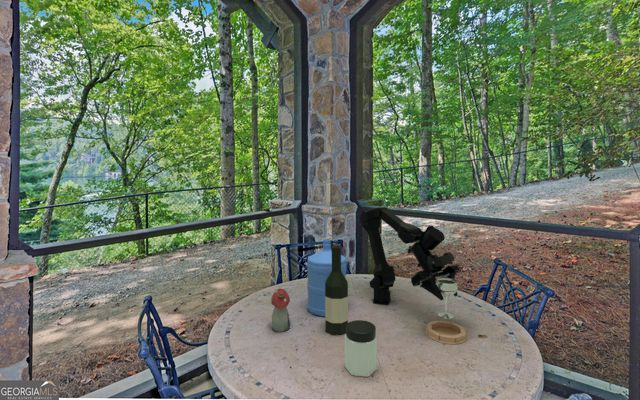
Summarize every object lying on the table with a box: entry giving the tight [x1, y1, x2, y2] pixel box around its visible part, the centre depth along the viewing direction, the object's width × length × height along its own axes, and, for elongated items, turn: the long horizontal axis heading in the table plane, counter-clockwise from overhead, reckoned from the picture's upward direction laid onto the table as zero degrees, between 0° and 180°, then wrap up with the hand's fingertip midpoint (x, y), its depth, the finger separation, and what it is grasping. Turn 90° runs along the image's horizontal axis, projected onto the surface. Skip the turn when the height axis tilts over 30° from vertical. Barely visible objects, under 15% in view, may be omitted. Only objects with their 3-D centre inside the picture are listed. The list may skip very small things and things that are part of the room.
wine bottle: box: [324, 243, 349, 336], centre depth 112 cm, size 8×8×30 cm
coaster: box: [425, 320, 468, 345], centre depth 109 cm, size 13×13×2 cm
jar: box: [344, 319, 378, 378], centre depth 90 cm, size 9×8×12 cm
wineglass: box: [435, 277, 459, 320], centre depth 109 cm, size 7×7×12 cm
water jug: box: [306, 239, 348, 317], centre depth 130 cm, size 16×16×28 cm
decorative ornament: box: [270, 288, 291, 333], centre depth 115 cm, size 9×6×15 cm
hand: (449, 297), depth 107 cm, fingers closed on wineglass, 6 cm apart
